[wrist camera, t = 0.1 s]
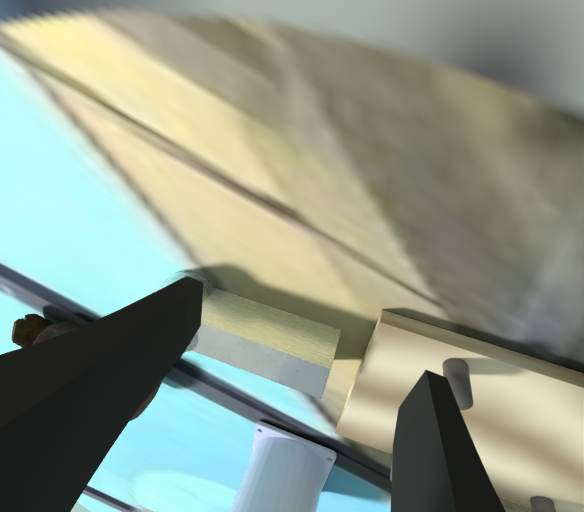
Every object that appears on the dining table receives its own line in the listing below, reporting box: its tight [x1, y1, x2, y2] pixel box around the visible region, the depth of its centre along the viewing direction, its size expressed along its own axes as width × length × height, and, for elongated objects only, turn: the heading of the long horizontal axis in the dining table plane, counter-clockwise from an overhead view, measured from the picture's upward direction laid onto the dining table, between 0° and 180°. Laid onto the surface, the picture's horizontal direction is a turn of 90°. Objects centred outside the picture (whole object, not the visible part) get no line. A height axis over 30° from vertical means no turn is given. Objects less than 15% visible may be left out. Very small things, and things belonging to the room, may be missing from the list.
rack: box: [335, 310, 584, 512], centre depth 22 cm, size 13×20×4 cm, turn 83°
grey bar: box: [153, 271, 342, 399], centre depth 24 cm, size 5×14×4 cm, turn 83°
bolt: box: [12, 314, 163, 421], centre depth 33 cm, size 6×5×15 cm
